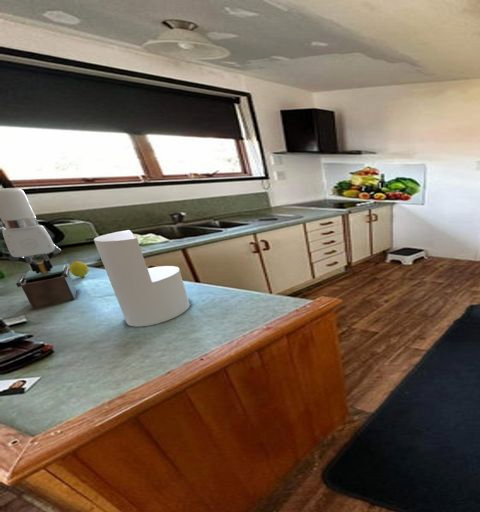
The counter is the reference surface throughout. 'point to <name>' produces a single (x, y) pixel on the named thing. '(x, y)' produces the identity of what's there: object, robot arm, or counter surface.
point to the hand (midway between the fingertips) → (44, 271)
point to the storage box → (48, 289)
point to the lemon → (78, 269)
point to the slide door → (44, 271)
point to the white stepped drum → (141, 281)
